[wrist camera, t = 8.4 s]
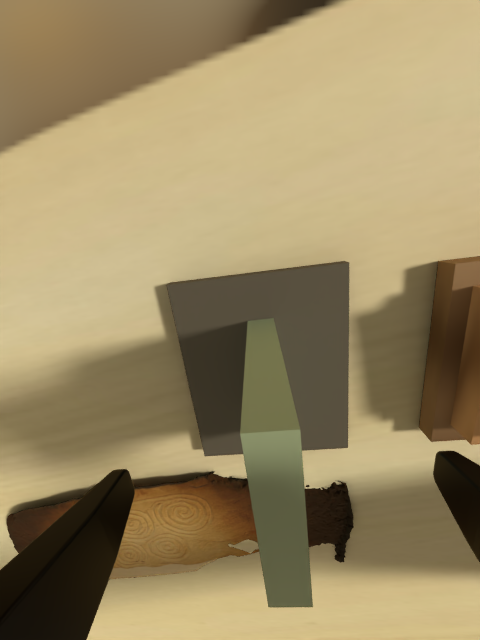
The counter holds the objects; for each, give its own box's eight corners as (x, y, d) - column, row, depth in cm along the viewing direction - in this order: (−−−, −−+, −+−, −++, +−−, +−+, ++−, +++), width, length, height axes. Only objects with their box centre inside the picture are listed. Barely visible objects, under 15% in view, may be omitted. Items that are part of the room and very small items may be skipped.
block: (283, 423, 13) (312, 607, 7) (261, 425, 14) (268, 607, 7) (273, 318, 12) (300, 429, 5) (247, 321, 12) (240, 433, 5)
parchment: (46, 580, 21) (38, 594, 20) (-21, 498, 18) (-34, 511, 17) (352, 548, 18) (357, 563, 17) (340, 446, 15) (346, 459, 14)
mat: (344, 439, 14) (347, 447, 14) (206, 447, 15) (204, 456, 14) (344, 261, 11) (349, 262, 11) (170, 282, 12) (166, 284, 11)
